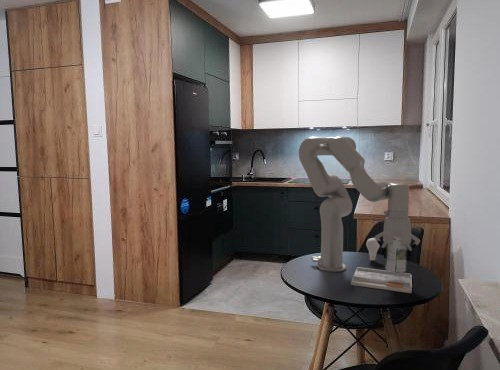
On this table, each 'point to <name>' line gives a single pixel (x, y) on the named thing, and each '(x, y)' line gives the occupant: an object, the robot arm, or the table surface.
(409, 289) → the mounting plate
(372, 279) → the metal tray
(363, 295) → the table surface
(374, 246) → the lightbulb
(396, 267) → the syrup box
